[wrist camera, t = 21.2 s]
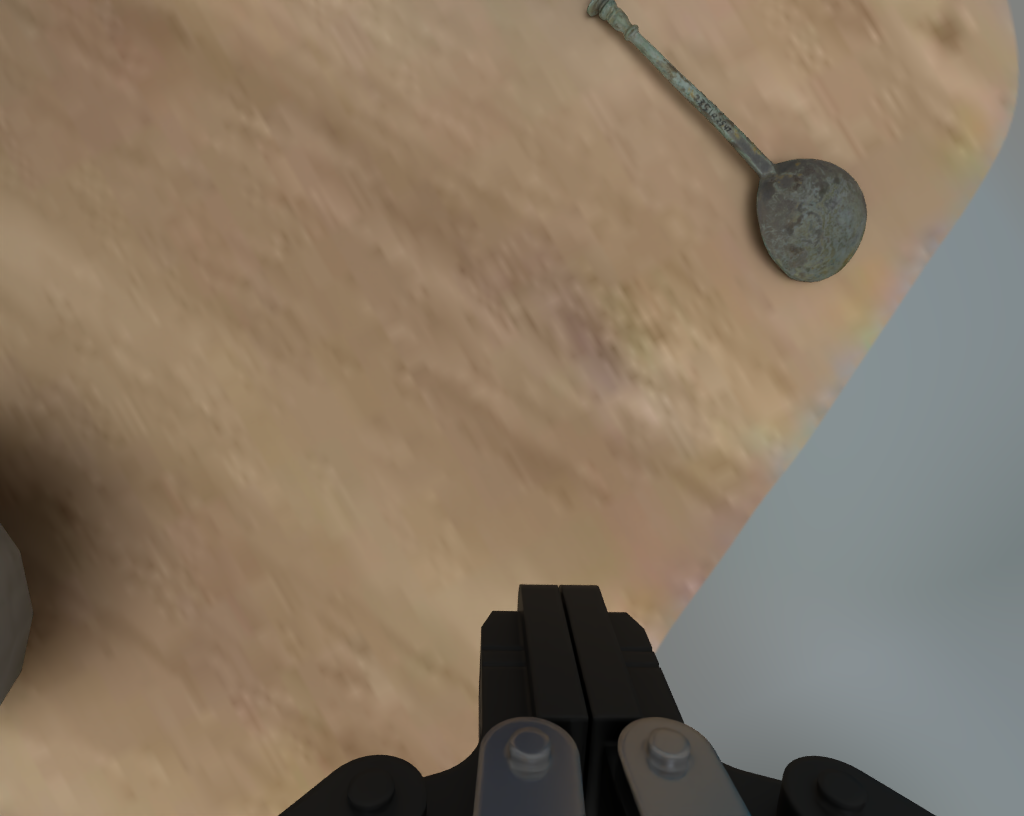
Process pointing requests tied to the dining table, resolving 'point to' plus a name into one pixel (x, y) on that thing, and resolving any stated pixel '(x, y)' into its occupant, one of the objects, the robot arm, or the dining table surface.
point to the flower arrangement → (12, 613)
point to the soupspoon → (776, 182)
